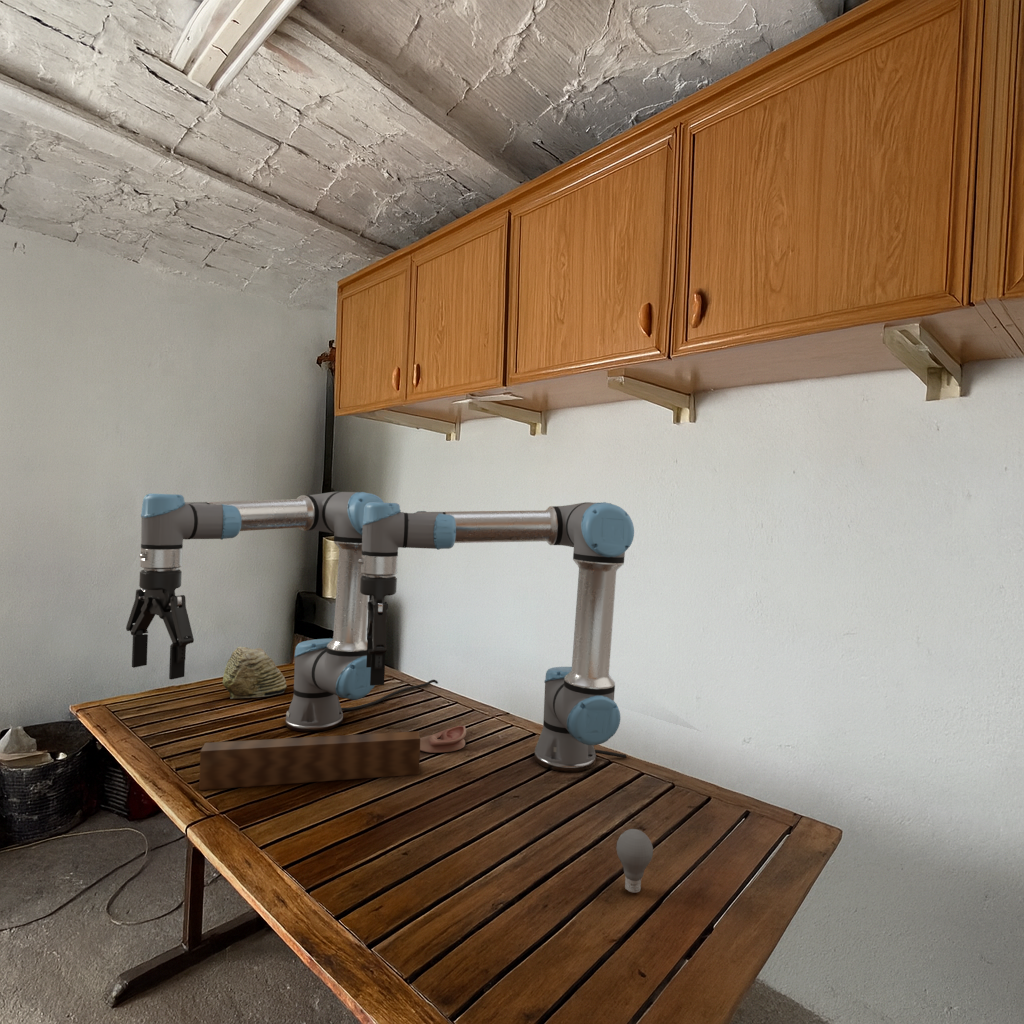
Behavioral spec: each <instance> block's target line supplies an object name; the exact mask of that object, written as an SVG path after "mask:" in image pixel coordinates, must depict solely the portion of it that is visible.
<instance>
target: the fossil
mask: <svg viewBox="0 0 1024 1024" xmlns="http://www.w3.org/2000/svg"><path fill="white" fill-rule="evenodd" d="M222 676H223V677H222V685H223V687H224V688H225V690H226V691H228V693H229V698H230V699H250V698H264V697H271V696H275V695H281V694H284V693H285V691H286V689H287V687H288V686H287V680H286V678H285V676H284V674H283V673H282V672H281V669H279V668H278V667H277V665H276V663H275V662H274V660H273V659H272V658H271V657H270V656H269V655H268V654H267V653H266V652H265V650H264V649H263V648H260V647H258V648H251V647H247V646H246V647H245V646H238V647H237V648H236V649H235V650H233V651H232V653H231V656H230V657H229V659H228V660H227V663H226V666H225V668H224V671H223V675H222Z"/></svg>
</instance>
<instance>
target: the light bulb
mask: <svg viewBox="0 0 1024 1024" xmlns="http://www.w3.org/2000/svg"><path fill="white" fill-rule="evenodd" d="M615 849H616V854H617V857H618V859H619V861H620V863H621V865H622V867H623V873H624V874H623V875H624V876H625V878H624V888H625V890H627V891H628V892H630V893H634V894H635V893H639V892H640V891H641V889H642V887H641V886H642V879H643V877H644V875H645V871H646V868H647V867H648V866H649V864H650V863H651V861H652V859H653V855H654V847H653V843H652V841H651V838H649V836H648V835H647V834H646V833H645V832H643V831H642V830H641V829H636V828H629V829H627V830H625V831H623V832H622V833H621V834H620V835H619V837H618V839H617V841H616V847H615Z"/></svg>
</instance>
